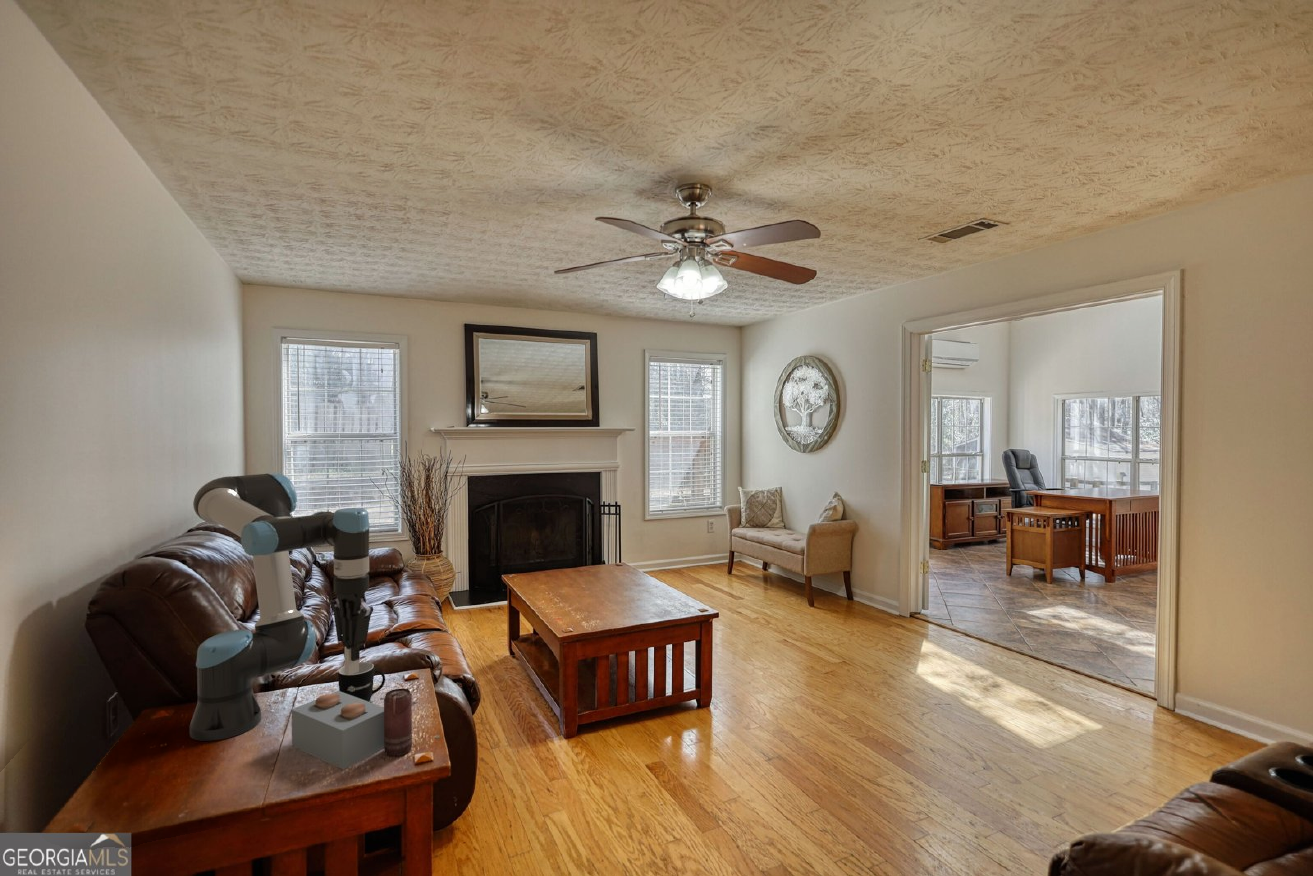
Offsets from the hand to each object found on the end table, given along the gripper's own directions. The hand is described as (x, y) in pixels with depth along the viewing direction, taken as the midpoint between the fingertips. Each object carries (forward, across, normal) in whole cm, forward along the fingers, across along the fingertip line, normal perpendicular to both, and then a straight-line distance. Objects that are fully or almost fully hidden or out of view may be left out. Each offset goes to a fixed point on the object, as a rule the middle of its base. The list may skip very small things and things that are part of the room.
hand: (351, 672), depth 148 cm
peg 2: (+18, +1, 0) cm, 18 cm away
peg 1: (+19, -9, 0) cm, 21 cm away
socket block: (+19, -4, 0) cm, 19 cm away
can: (+19, +10, +5) cm, 22 cm away
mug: (+20, -20, +17) cm, 33 cm away
